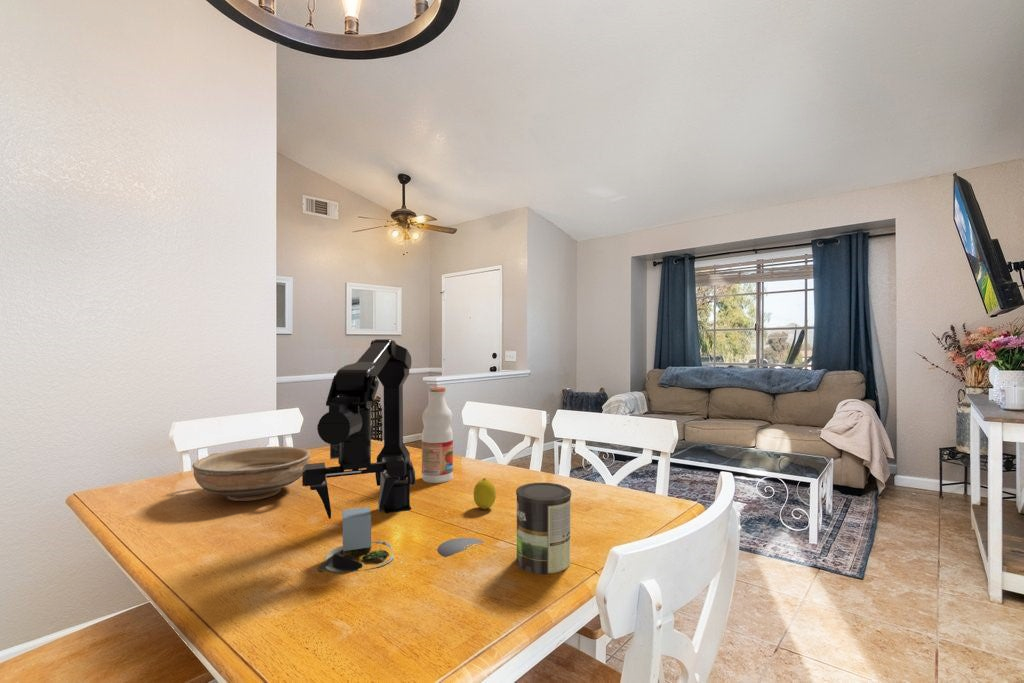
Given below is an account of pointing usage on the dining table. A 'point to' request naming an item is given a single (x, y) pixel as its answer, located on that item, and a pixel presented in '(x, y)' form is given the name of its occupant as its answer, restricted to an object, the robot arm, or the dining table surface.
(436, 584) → the dining table surface
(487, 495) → the lemon
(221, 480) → the ceramic bowl
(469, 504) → the dining table surface
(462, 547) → the gray coaster
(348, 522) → the slate block
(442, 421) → the fruit juice
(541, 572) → the coffee can
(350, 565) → the salad plate
